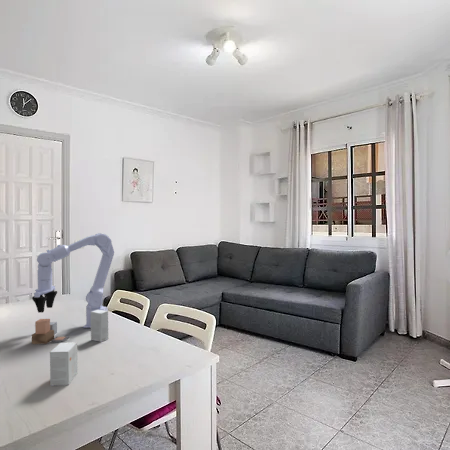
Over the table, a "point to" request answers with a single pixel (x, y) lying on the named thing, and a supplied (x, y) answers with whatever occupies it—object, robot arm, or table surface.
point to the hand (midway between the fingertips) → (45, 309)
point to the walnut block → (43, 337)
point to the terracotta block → (42, 326)
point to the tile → (60, 339)
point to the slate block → (53, 327)
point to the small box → (63, 363)
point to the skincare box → (99, 325)
